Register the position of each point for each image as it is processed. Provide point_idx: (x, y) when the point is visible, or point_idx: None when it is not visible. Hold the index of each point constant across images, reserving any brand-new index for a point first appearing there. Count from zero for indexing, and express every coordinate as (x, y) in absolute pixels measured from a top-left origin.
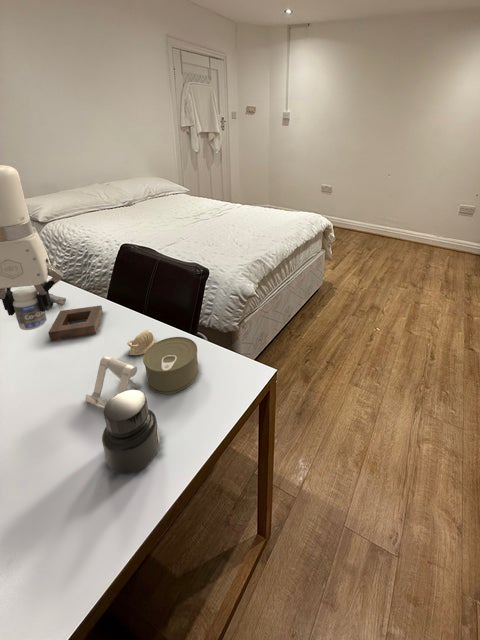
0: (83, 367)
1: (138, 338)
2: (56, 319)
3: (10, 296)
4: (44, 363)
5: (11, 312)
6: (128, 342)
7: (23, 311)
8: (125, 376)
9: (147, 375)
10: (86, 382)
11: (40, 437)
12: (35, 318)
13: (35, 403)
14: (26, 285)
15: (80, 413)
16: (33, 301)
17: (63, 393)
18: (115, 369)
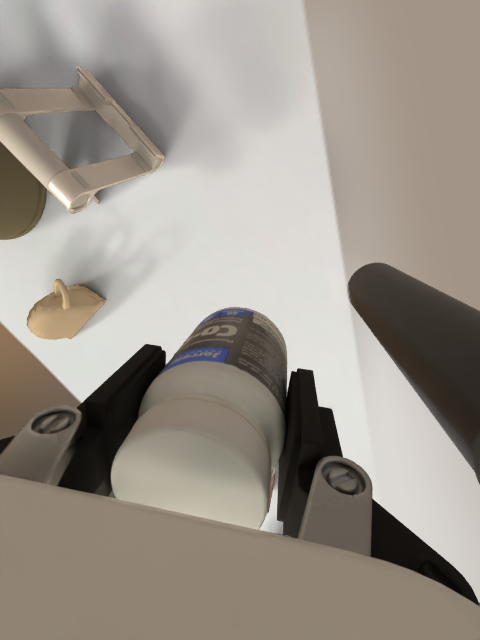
0: (196, 295)
1: (46, 306)
2: (271, 481)
3: (290, 478)
4: None
5: (297, 378)
6: (61, 292)
7: (227, 349)
8: (8, 98)
9: (6, 149)
10: (181, 237)
11: (248, 78)
12: (201, 330)
13: (278, 208)
14: (15, 482)
15: (175, 127)
16: (157, 391)
17: (224, 218)
18: (37, 138)
